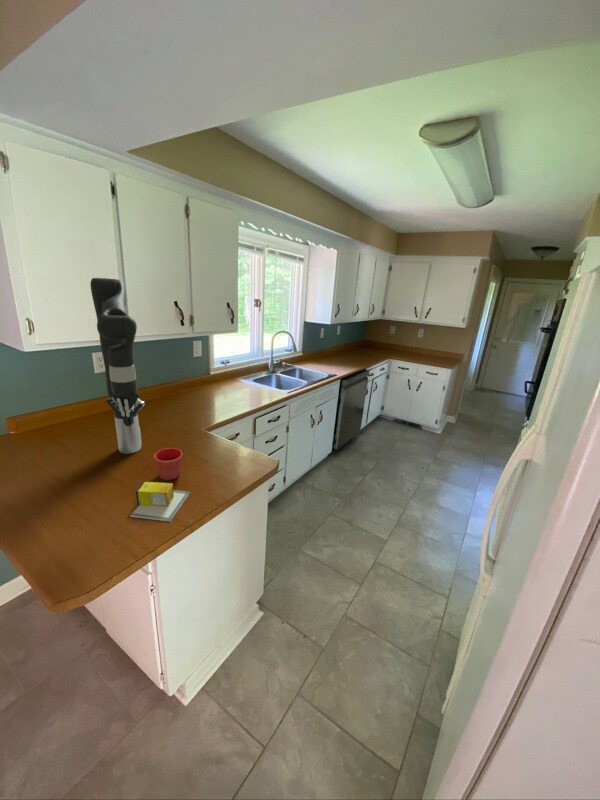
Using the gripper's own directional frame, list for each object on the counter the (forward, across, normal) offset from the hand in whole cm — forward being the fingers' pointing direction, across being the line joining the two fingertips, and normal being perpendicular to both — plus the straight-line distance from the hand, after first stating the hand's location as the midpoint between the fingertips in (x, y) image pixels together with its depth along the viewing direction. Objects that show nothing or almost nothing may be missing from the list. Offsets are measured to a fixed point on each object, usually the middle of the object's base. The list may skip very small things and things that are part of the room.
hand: (128, 425), depth 110 cm
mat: (+27, -13, +6) cm, 31 cm away
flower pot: (+28, -7, -12) cm, 31 cm away
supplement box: (+24, -4, +5) cm, 25 cm away
